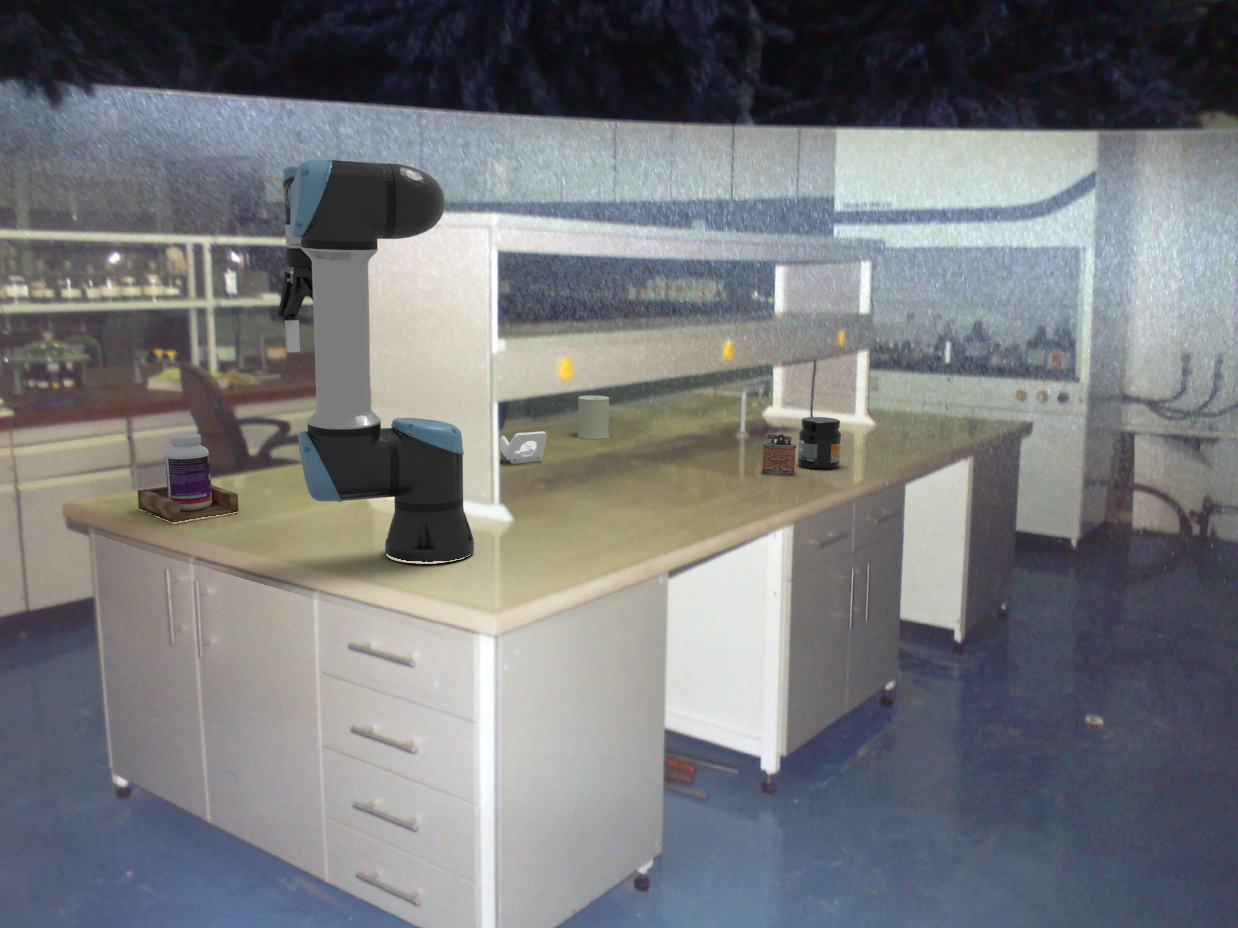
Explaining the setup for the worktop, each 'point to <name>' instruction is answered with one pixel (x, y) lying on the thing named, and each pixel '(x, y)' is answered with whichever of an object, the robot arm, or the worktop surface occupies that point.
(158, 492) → the slot tray
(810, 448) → the supplement container
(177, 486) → the pill bottle
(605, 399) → the can
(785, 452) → the lighter
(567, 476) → the worktop surface
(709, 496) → the worktop surface
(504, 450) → the mounting bracket
